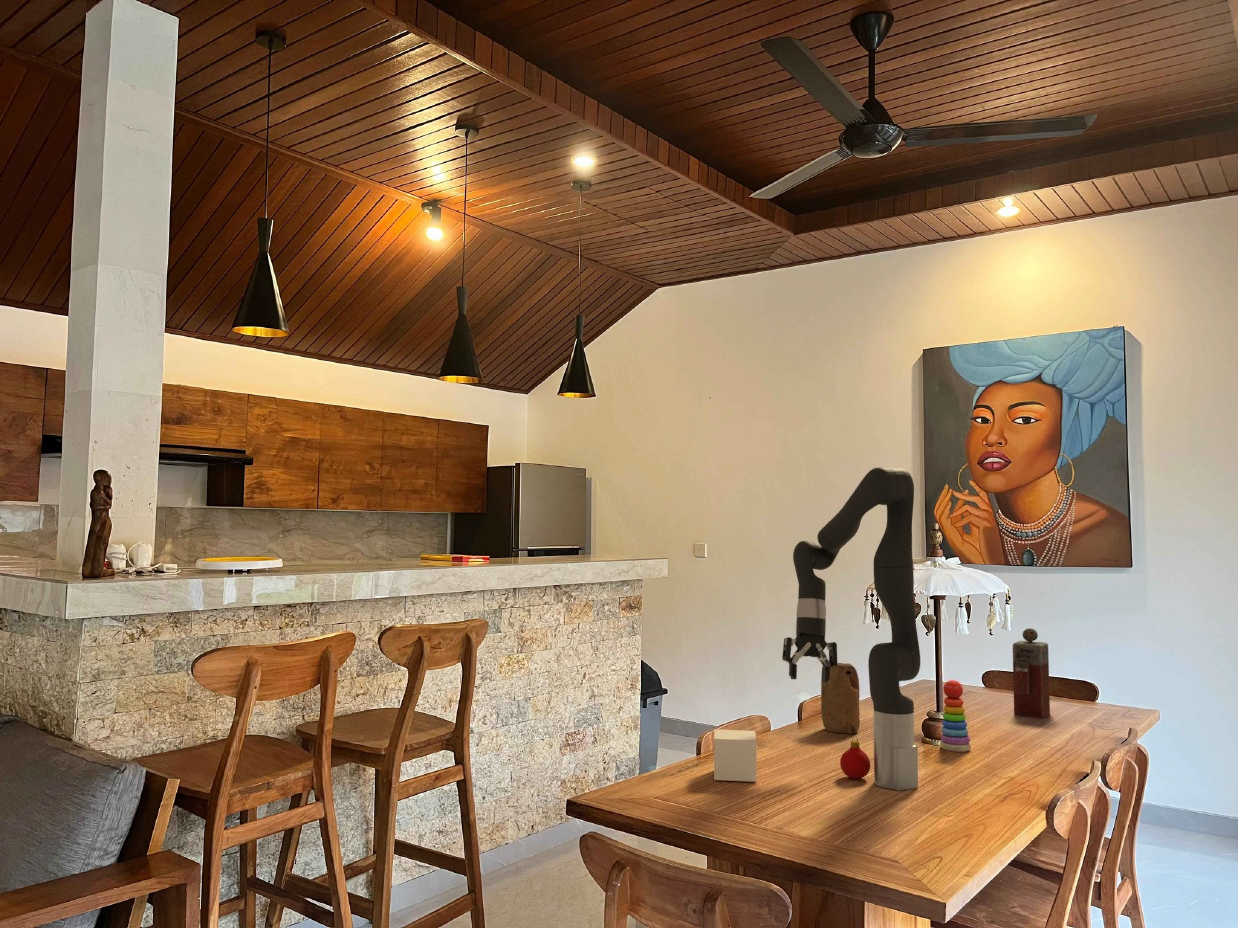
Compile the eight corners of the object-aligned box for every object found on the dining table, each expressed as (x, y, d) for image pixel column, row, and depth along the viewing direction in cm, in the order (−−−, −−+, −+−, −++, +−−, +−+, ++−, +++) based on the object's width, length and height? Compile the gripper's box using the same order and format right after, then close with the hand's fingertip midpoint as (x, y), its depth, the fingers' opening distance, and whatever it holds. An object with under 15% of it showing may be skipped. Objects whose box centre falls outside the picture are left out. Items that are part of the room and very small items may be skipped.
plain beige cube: (714, 770, 223) (714, 729, 223) (755, 771, 221) (755, 730, 222) (714, 781, 213) (714, 738, 213) (756, 783, 211) (756, 740, 212)
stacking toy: (946, 744, 252) (944, 676, 253) (975, 748, 247) (973, 679, 248) (935, 749, 246) (934, 680, 247) (965, 754, 241) (964, 683, 242)
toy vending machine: (1011, 715, 291) (1009, 628, 293) (1021, 710, 300) (1019, 626, 302) (1041, 719, 285) (1039, 631, 287) (1050, 714, 294) (1048, 628, 296)
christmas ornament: (849, 783, 212) (849, 740, 213) (834, 775, 219) (834, 733, 219) (876, 781, 214) (875, 738, 215) (860, 773, 221) (860, 732, 221)
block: (819, 730, 267) (818, 663, 269) (829, 726, 273) (828, 660, 275) (854, 735, 261) (853, 666, 262) (863, 731, 267) (862, 663, 268)
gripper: (791, 613, 229) (788, 678, 225) (842, 619, 232) (841, 683, 228) (780, 615, 237) (777, 678, 232) (830, 621, 239) (828, 683, 235)
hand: (809, 680), depth 230 cm, fingers open, 8 cm apart
